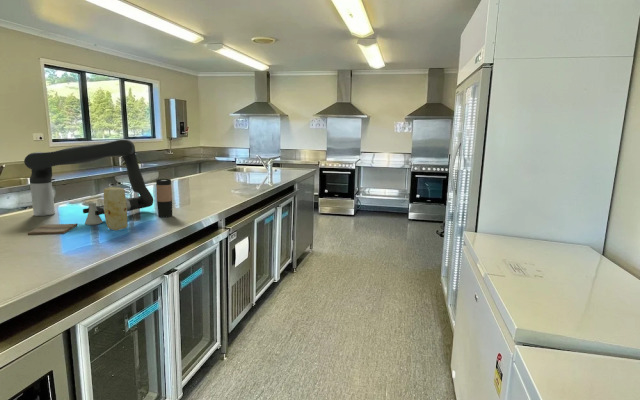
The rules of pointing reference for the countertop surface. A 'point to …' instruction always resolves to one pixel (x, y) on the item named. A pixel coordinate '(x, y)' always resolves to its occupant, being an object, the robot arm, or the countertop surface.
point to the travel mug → (164, 197)
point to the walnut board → (52, 229)
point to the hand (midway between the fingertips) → (89, 212)
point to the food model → (115, 208)
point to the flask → (93, 215)
